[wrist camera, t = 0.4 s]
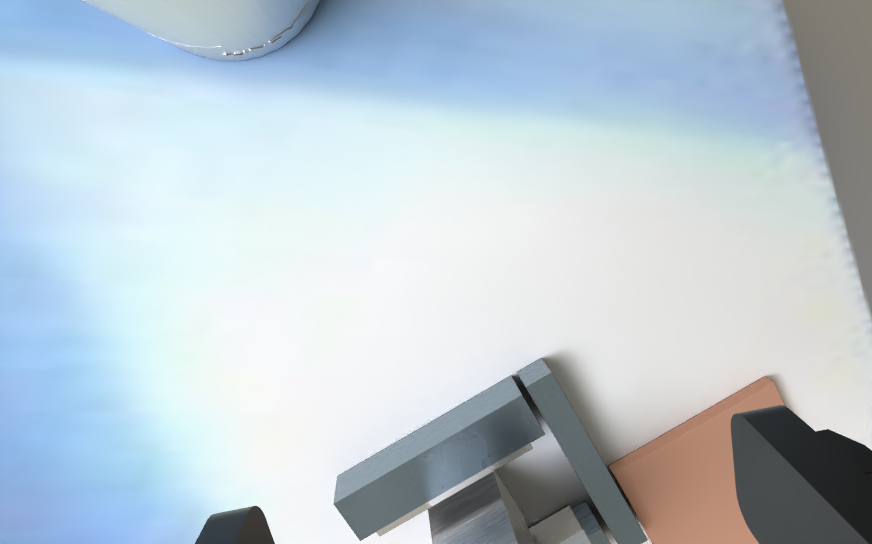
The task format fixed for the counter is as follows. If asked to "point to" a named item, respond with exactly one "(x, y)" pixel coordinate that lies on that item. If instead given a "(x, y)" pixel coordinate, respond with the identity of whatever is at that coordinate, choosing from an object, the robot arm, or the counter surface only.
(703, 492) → the mat
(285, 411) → the counter surface
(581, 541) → the gray rectangular prism
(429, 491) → the vise
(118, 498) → the counter surface
